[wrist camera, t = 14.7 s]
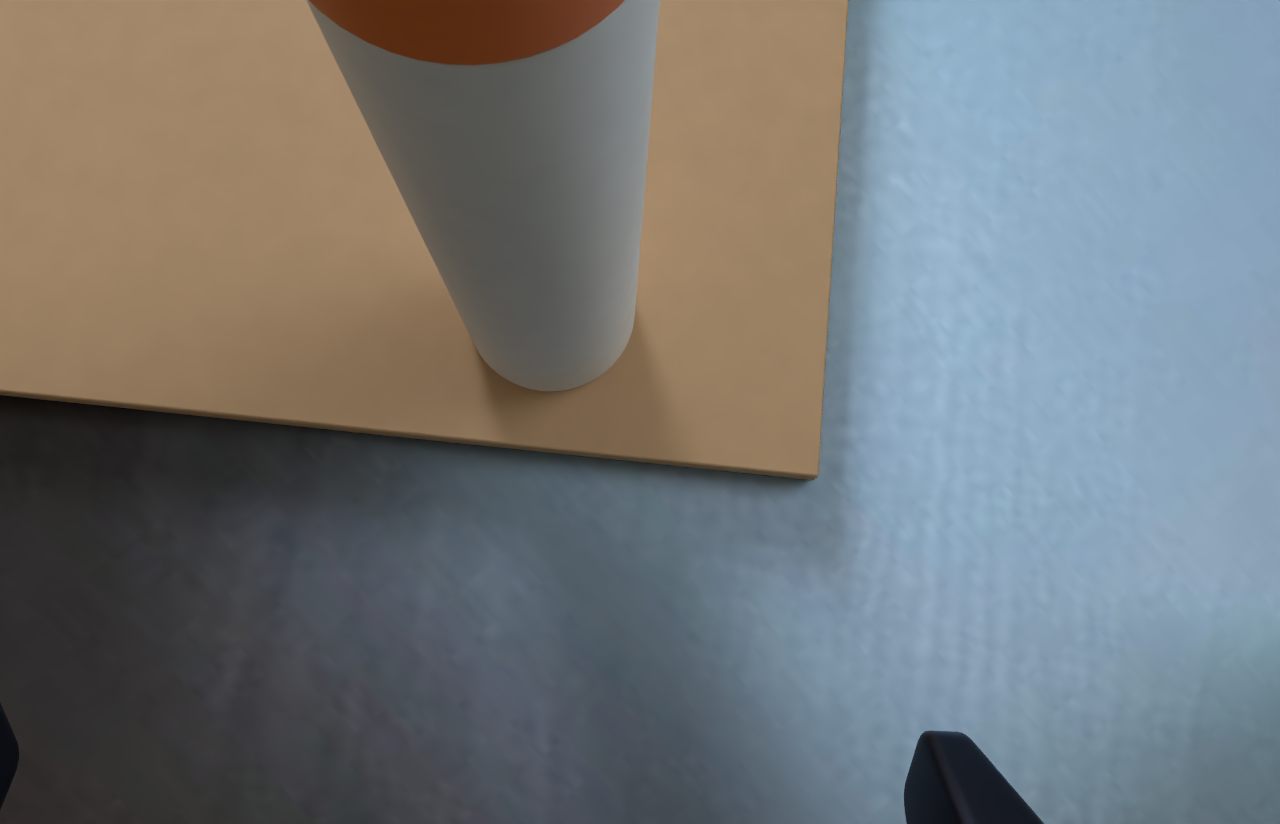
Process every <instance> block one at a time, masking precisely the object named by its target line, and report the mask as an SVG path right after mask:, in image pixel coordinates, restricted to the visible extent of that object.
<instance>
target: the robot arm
mask: <svg viewBox="0 0 1280 824" xmlns="http://www.w3.org/2000/svg"><path fill="white" fill-rule="evenodd" d="M18 761H19V747H18V743H17V740H16V738H15V736H14V733H13V731H12V729H11V726H10V724H9V722H8V719H7V717H6V715H5V712H4V710H3V708H2V705H1V703H0V809H1V807H2V804H3V802H4V799H5V797H6V795H7V792H8V790H9V787H10V785H11V782H12V780H13V777H14V775H15V772H16V769H17V765H18ZM904 806H905V815H906V822H907V824H1044V823H1043V822H1042V821H1041V820H1040V818H1039V817H1038V816H1037V815H1036V814H1035V813H1034V811H1033V810H1032V809H1031V808H1030V807H1029V806H1028V805H1027V803H1026V802H1025V801H1024V800H1023V799H1022V798H1021V796H1020V795H1019V794H1018V793H1017V792H1016V791H1015V790H1014V788H1013V787H1012V786H1011V785H1010V784H1009V783H1008V781H1007V780H1006V779H1005V778H1004V777H1003V776H1002V774H1001V773H1000V772H999V771H998V770H997V769H996V768H995V766H994V765H993V764H992V763H991V762H990V761H989V759H988V758H987V757H986V756H985V755H984V754H983V752H982V751H981V750H980V749H979V748H978V747H977V746H976V744H975V743H974V742H973V741H972V740H971V739H970V738H969V737H968V736H966V735H965V734H963V733H960V732H949V731H925V732H924V733H923V734H922V735H921V736H920V738H919V740H918V743H917V746H916V750H915V753H914V756H913V759H912V763H911V766H910V769H909V773H908V776H907V779H906V783H905V789H904Z"/></svg>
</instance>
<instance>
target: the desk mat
mask: <svg viewBox="0 0 1280 824" xmlns="http://www.w3.org/2000/svg"><path fill="white" fill-rule="evenodd" d="M848 1H849V0H660V4H659V17H658V29H657V42H656V55H655V67H654V80H653V92H652V105H651V118H650V130H649V143H648V155H647V168H646V180H645V193H644V206H643V218H642V231H641V243H640V256H639V269H638V281H637V294H636V306H635V318H634V324H633V329H632V333H631V336H630V339H629V341H628V343H627V345H626V348H625V349H624V351H623V352H622V354H621V356H620V357H619V358H618V359H617V361H616V362H615V363H614V364H613V365H612V366H611V367H610V368H609V369H608V370H607V371H606V372H605V373H603V374H602V375H600V376H599V377H598V378H596V379H594V380H592V381H591V382H589V383H587V384H584V385H582V386H579V387H576V388H572V389H568V390H563V391H538V390H532V389H528V388H525V387H521V386H519V385H517V384H514V383H512V382H510V381H508V380H507V379H505V378H503V377H502V376H500V375H499V374H498V373H496V372H495V371H494V370H493V369H492V368H491V367H490V366H489V365H488V364H487V363H486V362H485V361H484V359H483V358H482V357H481V355H480V354H479V352H478V350H477V348H476V347H475V345H474V343H473V341H472V339H471V337H470V335H469V333H468V331H467V328H466V326H465V324H464V322H463V320H462V318H461V316H460V314H459V312H458V310H457V308H456V306H455V304H454V302H453V300H452V298H451V296H450V294H449V292H448V290H447V287H446V285H445V283H444V281H443V279H442V277H441V275H440V273H439V271H438V269H437V267H436V265H435V263H434V261H433V259H432V257H431V255H430V253H429V251H428V249H427V246H426V244H425V242H424V240H423V238H422V236H421V234H420V232H419V230H418V228H417V226H416V224H415V222H414V220H413V218H412V216H411V214H410V212H409V210H408V208H407V206H406V203H405V201H404V199H403V197H402V195H401V193H400V191H399V189H398V187H397V185H396V183H395V181H394V179H393V177H392V175H391V173H390V171H389V169H388V167H387V165H386V162H385V160H384V158H383V156H382V154H381V152H380V150H379V148H378V146H377V144H376V142H375V140H374V138H373V136H372V134H371V132H370V130H369V128H368V126H367V124H366V121H365V119H364V117H363V115H362V113H361V111H360V109H359V107H358V105H357V103H356V101H355V99H354V97H353V95H352V93H351V91H350V89H349V87H348V85H347V83H346V81H345V78H344V76H343V74H342V72H341V70H340V68H339V66H338V64H337V62H336V60H335V58H334V56H333V54H332V52H331V50H330V48H329V46H328V44H327V42H326V40H325V37H324V35H323V33H322V31H321V29H320V27H319V25H318V23H317V21H316V19H315V17H314V15H313V13H312V11H311V9H310V7H309V5H308V3H307V1H306V0H0V395H5V396H14V397H24V398H34V399H43V400H53V401H62V402H72V403H81V404H91V405H100V406H110V407H120V408H129V409H139V410H148V411H158V412H167V413H177V414H186V415H196V416H205V417H215V418H225V419H234V420H244V421H253V422H263V423H272V424H282V425H291V426H301V427H311V428H320V429H330V430H339V431H349V432H358V433H368V434H377V435H387V436H396V437H406V438H416V439H425V440H435V441H444V442H454V443H463V444H473V445H482V446H492V447H501V448H511V449H521V450H530V451H540V452H549V453H559V454H568V455H578V456H587V457H597V458H607V459H616V460H626V461H635V462H645V463H654V464H664V465H673V466H683V467H692V468H702V469H712V470H721V471H731V472H740V473H750V474H759V475H769V476H778V477H788V478H798V479H807V480H814V479H815V478H817V477H818V474H819V459H820V443H821V427H822V411H823V395H824V380H825V364H826V348H827V332H828V317H829V301H830V285H831V269H832V253H833V238H834V222H835V206H836V190H837V175H838V159H839V143H840V127H841V111H842V96H843V80H844V64H845V48H846V33H847V17H848Z"/></svg>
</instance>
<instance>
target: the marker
mask: <svg viewBox="0 0 1280 824" xmlns="http://www.w3.org/2000/svg"><path fill="white" fill-rule="evenodd" d="M306 1H307V3H308V5H309V7H310V9H311V11H312V13H313V15H314V17H315V19H316V21H317V23H318V25H319V27H320V29H321V31H322V33H323V35H324V37H325V40H326V42H327V44H328V46H329V48H330V50H331V52H332V54H333V56H334V58H335V60H336V62H337V64H338V66H339V68H340V70H341V72H342V74H343V76H344V78H345V81H346V83H347V85H348V87H349V89H350V91H351V93H352V95H353V97H354V99H355V101H356V103H357V105H358V107H359V109H360V111H361V113H362V115H363V117H364V119H365V121H366V124H367V126H368V128H369V130H370V132H371V134H372V136H373V138H374V140H375V142H376V144H377V146H378V148H379V150H380V152H381V154H382V156H383V158H384V160H385V162H386V165H387V167H388V169H389V171H390V173H391V175H392V177H393V179H394V181H395V183H396V185H397V187H398V189H399V191H400V193H401V195H402V197H403V199H404V201H405V203H406V206H407V208H408V210H409V212H410V214H411V216H412V218H413V220H414V222H415V224H416V226H417V228H418V230H419V232H420V234H421V236H422V238H423V240H424V242H425V244H426V246H427V249H428V251H429V253H430V255H431V257H432V259H433V261H434V263H435V265H436V267H437V269H438V271H439V273H440V275H441V277H442V279H443V281H444V283H445V285H446V287H447V290H448V292H449V294H450V296H451V298H452V300H453V302H454V304H455V306H456V308H457V310H458V312H459V314H460V316H461V318H462V320H463V322H464V324H465V326H466V328H467V331H468V333H469V335H470V337H471V339H472V341H473V343H474V345H475V347H476V348H477V350H478V352H479V354H480V355H481V357H482V358H483V359H484V361H485V362H486V363H487V364H488V365H489V366H490V367H491V368H492V369H493V370H494V371H495V372H496V373H498V374H499V375H500V376H502V377H503V378H505V379H507V380H508V381H510V382H512V383H514V384H517V385H519V386H521V387H525V388H528V389H532V390H538V391H563V390H568V389H572V388H576V387H579V386H582V385H584V384H587V383H589V382H591V381H592V380H594V379H596V378H598V377H599V376H600V375H602V374H603V373H605V372H606V371H607V370H608V369H609V368H610V367H611V366H612V365H613V364H614V363H615V362H616V361H617V359H618V358H619V357H620V356H621V354H622V352H623V351H624V349H625V348H626V345H627V343H628V341H629V339H630V336H631V333H632V329H633V324H634V318H635V306H636V294H637V281H638V269H639V256H640V243H641V231H642V218H643V206H644V193H645V180H646V168H647V155H648V143H649V130H650V118H651V105H652V92H653V80H654V67H655V55H656V42H657V29H658V17H659V4H660V0H306Z"/></svg>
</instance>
